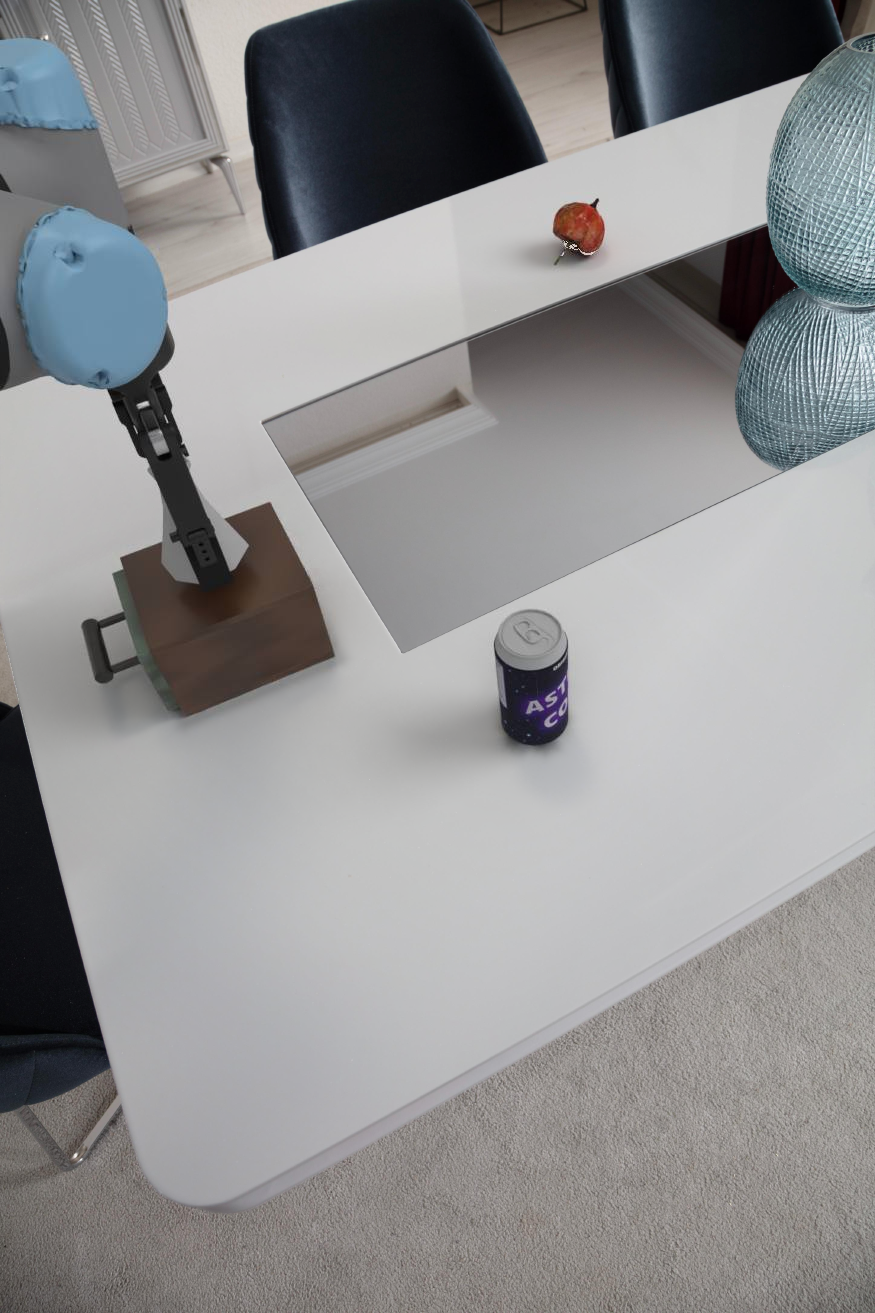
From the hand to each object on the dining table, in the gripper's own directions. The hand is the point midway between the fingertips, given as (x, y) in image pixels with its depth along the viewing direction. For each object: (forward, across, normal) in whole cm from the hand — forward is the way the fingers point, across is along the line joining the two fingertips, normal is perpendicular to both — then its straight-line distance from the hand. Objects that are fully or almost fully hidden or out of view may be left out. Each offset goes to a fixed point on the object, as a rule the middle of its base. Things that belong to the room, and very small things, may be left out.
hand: (205, 554), depth 80 cm
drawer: (+11, 0, -4) cm, 11 cm away
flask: (0, 0, 0) cm, 0 cm away
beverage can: (+12, +22, +20) cm, 32 cm away
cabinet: (+12, 0, 0) cm, 12 cm away
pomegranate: (+12, -45, +62) cm, 78 cm away
